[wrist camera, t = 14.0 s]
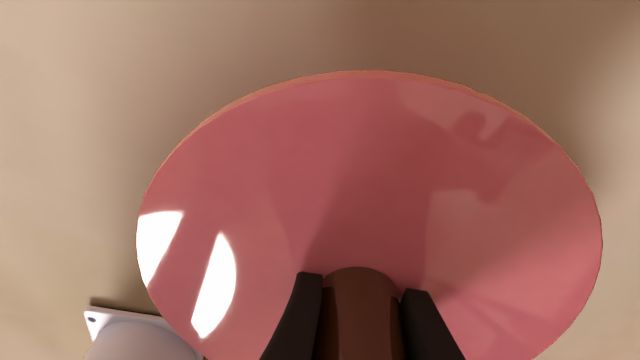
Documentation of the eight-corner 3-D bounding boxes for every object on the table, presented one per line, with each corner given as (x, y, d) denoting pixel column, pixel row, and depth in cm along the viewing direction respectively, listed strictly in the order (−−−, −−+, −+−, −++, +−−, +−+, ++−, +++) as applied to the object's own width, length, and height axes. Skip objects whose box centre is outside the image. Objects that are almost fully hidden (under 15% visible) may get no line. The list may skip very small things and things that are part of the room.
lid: (476, 397, 16) (537, 621, 10) (168, 351, 15) (77, 559, 10) (694, 113, 8) (1228, 384, 3) (123, 14, 8) (-268, 144, 3)
